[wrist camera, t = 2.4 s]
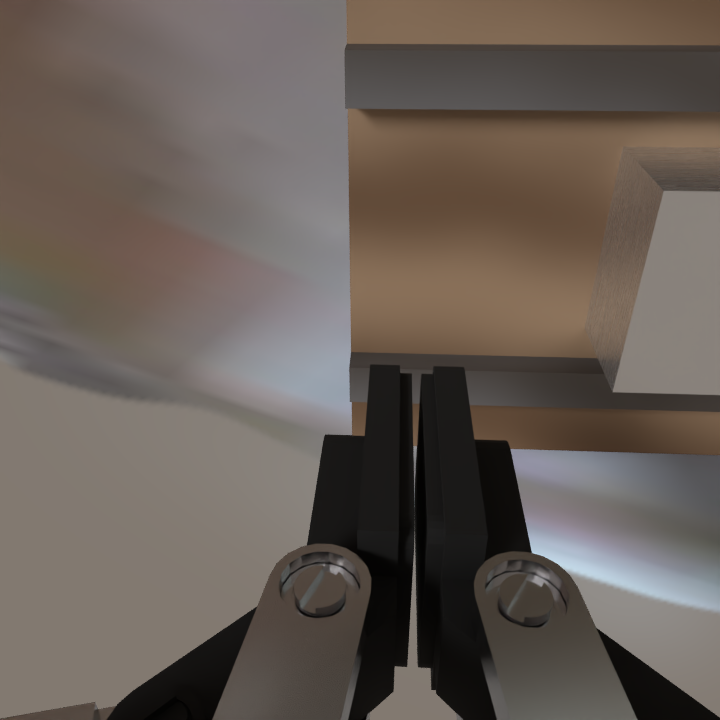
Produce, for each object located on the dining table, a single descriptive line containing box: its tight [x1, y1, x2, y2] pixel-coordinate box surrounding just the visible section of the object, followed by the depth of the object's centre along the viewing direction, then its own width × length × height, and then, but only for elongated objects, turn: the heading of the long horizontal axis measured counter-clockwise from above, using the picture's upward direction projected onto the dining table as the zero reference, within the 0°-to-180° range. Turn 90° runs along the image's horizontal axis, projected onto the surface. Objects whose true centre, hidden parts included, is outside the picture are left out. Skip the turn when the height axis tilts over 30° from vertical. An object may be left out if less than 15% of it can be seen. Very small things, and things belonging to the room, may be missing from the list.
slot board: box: [345, 0, 720, 455], centre depth 19 cm, size 14×20×6 cm
